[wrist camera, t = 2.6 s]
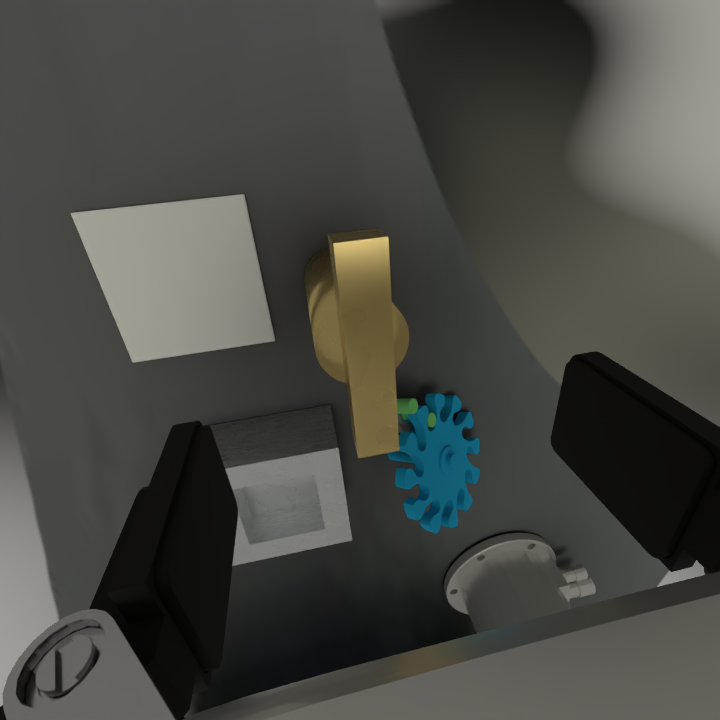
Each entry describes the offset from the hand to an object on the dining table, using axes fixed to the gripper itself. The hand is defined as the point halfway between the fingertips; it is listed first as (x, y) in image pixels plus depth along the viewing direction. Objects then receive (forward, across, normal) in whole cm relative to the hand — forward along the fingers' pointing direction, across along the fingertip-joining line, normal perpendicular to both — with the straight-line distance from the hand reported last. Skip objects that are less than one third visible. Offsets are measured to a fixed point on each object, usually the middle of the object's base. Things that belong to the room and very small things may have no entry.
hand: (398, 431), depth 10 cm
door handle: (+16, 0, +1) cm, 17 cm away
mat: (+17, +9, 0) cm, 19 cm away
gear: (+16, -6, +14) cm, 22 cm away
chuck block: (+16, +8, +15) cm, 23 cm away
